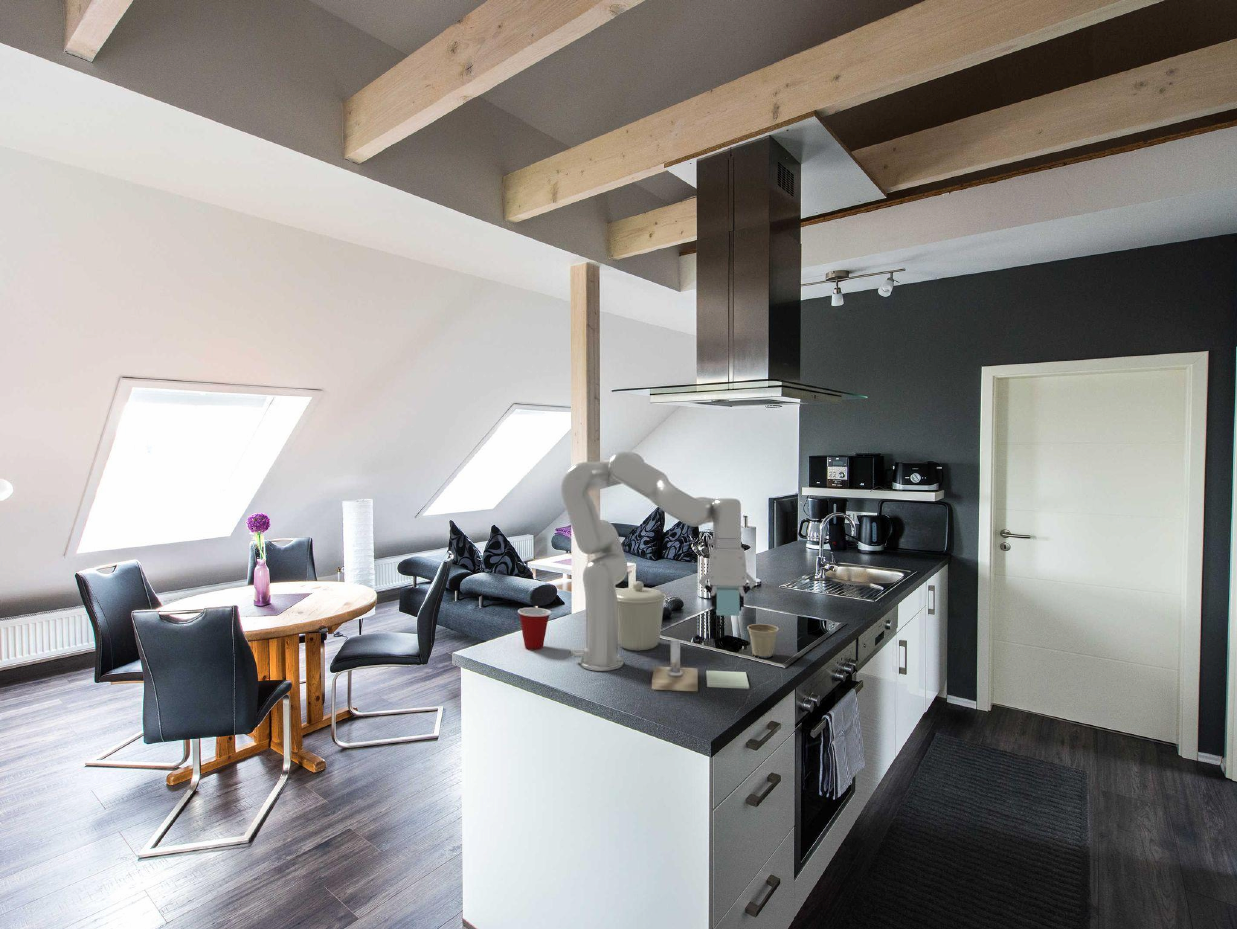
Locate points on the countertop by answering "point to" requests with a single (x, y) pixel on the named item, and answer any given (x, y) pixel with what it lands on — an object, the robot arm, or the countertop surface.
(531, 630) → the plastic cup
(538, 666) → the countertop surface
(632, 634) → the canister
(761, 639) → the flower pot
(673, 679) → the post base
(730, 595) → the light blue upright block
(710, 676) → the mat
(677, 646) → the post
